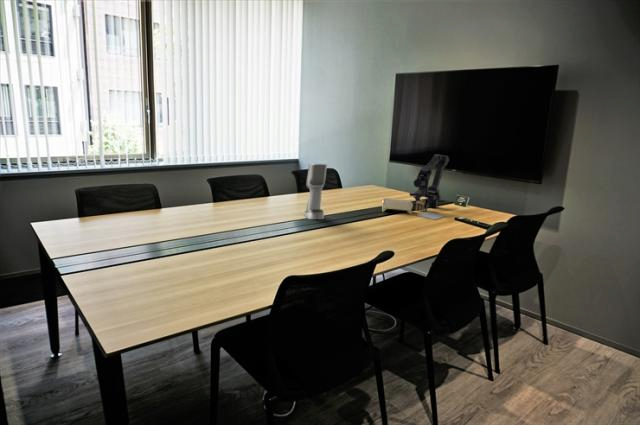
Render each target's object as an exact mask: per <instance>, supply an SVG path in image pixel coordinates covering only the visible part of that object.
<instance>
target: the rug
mask: <svg viewBox="0 0 640 425" xmlns="http://www.w3.org/2000/svg"><path fill="white" fill-rule="evenodd" d="M415 216H416V217H419V218H420V217H421V218H424V219H428V220H433V221H436V220H439V219H442V218H446V215H444V214H440V213H435V212H433V211H432V212H431V211H424V212H421V213H419V214H416V215H415Z"/></svg>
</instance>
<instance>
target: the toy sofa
mask: <svg viewBox="0 0 640 425" xmlns="http://www.w3.org/2000/svg"><path fill="white" fill-rule="evenodd" d="M381 203H382V206H381V211H382V212H383V213H384V212H385V211H386V210H388V209H389V210H390V209H391V210H398V211H399V210H400V211H401V210H402V211H406V212H407V213H408V214H409V215H412V209H413V207H414V205H413V200H411V199H394V198H389V197H383V199H382V201H381ZM382 212H381V213H382Z"/></svg>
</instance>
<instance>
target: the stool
mask: <svg viewBox="0 0 640 425" xmlns="http://www.w3.org/2000/svg"><path fill="white" fill-rule="evenodd" d="M415 202H416V203H415V211H416V212H417V211H418V210H419V211H421V213H425V212H428V208H429V207H428V206H429V204H428V205H427V207H426V208H425V202H426V201H425V199H423V200H422V199H420V200H418V201H416V200H415ZM418 204H419V206H418Z"/></svg>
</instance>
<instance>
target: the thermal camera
mask: <svg viewBox="0 0 640 425" xmlns="http://www.w3.org/2000/svg"><path fill="white" fill-rule="evenodd" d="M327 168H328V164H327V163H309V164H308V168H307V176H306V182H305V186H306V188H307V189H309V195H308V200H307V203H306V207H305V208H306V209H305V211H304V212H303V216H305V217H306V218H307V220H314V221H315V220H316V219H318V220H324V219H325V214H324V213H325V212H324V210H323V209H321V206H322V191H323V188H324V186H325V183H326V176H327Z"/></svg>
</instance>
